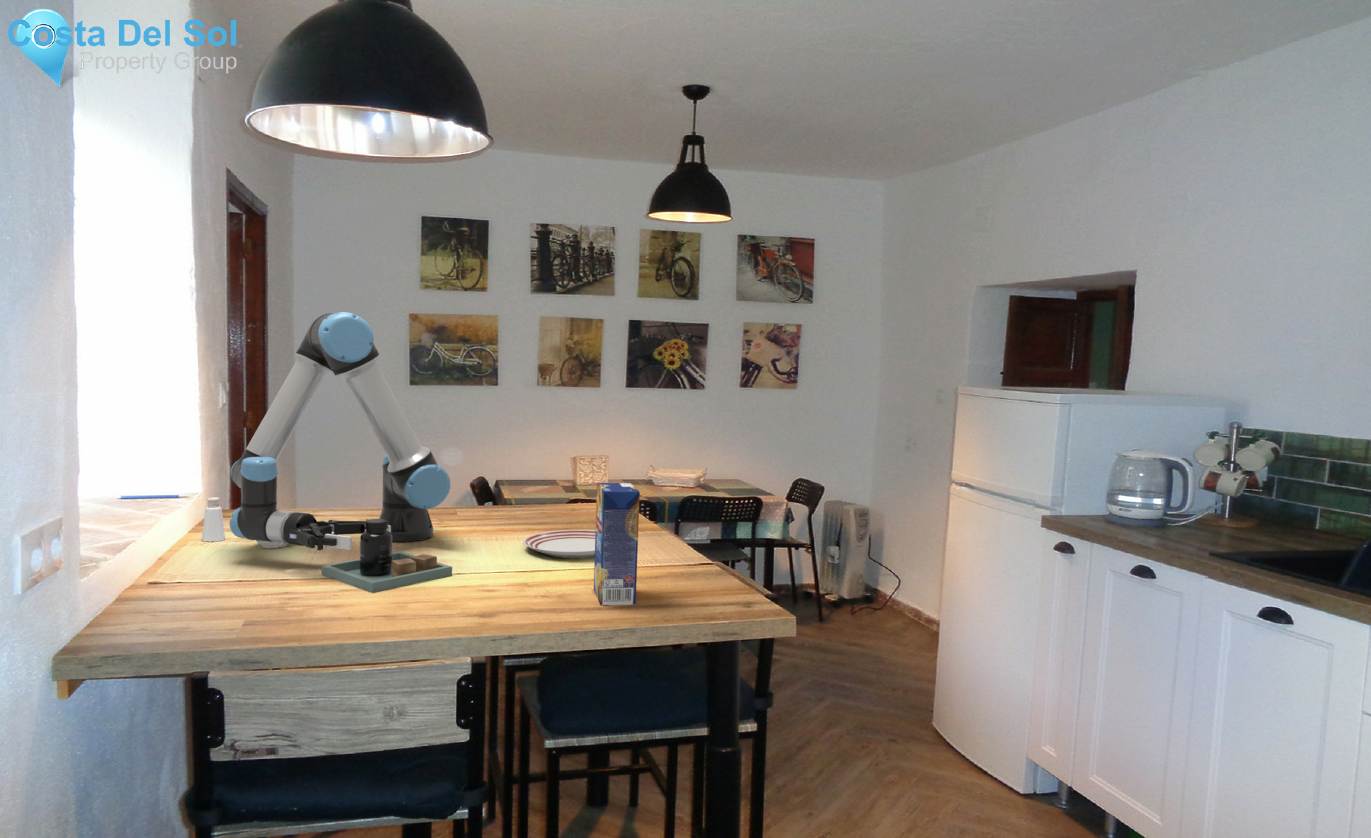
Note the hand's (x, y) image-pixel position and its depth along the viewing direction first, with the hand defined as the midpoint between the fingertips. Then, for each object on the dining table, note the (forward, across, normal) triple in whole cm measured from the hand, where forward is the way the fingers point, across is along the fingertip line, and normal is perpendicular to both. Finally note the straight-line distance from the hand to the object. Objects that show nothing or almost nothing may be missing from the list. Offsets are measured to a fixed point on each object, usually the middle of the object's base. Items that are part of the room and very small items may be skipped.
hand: (371, 537), depth 193 cm
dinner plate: (+30, -45, -10) cm, 55 cm away
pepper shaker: (-58, -13, -9) cm, 60 cm away
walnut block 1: (+10, +2, -8) cm, 13 cm away
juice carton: (+56, -8, -9) cm, 57 cm away
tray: (+4, 0, -9) cm, 10 cm away
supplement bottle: (+1, 0, -8) cm, 8 cm away
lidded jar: (-40, -15, -9) cm, 44 cm away
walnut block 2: (+11, -4, -8) cm, 14 cm away
